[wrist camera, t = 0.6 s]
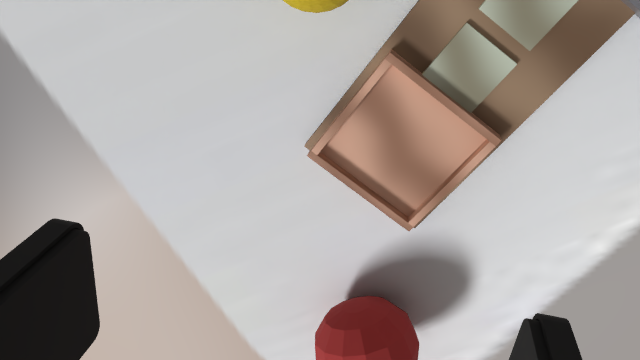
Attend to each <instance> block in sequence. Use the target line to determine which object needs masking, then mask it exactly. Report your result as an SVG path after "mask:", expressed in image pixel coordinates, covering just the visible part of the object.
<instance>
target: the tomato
mask: <svg viewBox="0 0 640 360" xmlns="http://www.w3.org/2000/svg"><path fill="white" fill-rule="evenodd" d="M315 351H316V360H418V351H419V341H418V338H417V335H416V332H415V330H414V327H413V325H412V323H411V321H410V319H409V317H408V314H407V313H406V312H404V311H403V310H401V309H400V308H398V307H397V306H395V305H394V304H392V303H391V302H389V301H387V300H386V299H384V298H382V297H376V296H364V297H356V298H352V299H349V300H346V301H343V302H341V303H339V304H338V305H336V306H334V307H333V308H331V309H330V311H329V312H328V313H327V314H326V315H325V317H324V319H323V321H322V322H321V324H320V326H319V328H318V330H317V331H316V334H315Z"/></svg>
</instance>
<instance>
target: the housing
mask: <svg viewBox="0 0 640 360" xmlns="http://www.w3.org/2000/svg"><path fill="white" fill-rule="evenodd" d="M621 1H622V2H623V3H625V4H626V5H627V6H628V7H629V8H630V9H631V10H633V11H634V12H635V14H636V15H637V16H638V17H639V18H640V0H621Z"/></svg>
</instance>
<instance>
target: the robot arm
mask: <svg viewBox="0 0 640 360" xmlns="http://www.w3.org/2000/svg"><path fill="white" fill-rule="evenodd" d="M93 270H94V269H93V261H92V253H91V245H90V237H89V234H88V232H86V231H84V229H83V227H82V225H81V224H79V223H76V222H71V221H65V220H60V219H52V220H50V221H48V222H47V223H45V224H44V225H43V226H42V227H41V228H39V229H38V230H37V231H35V232H34V233H33V234H32V235H31V236H30V237H28V238H27V239H26V240H24V241H23V242H22V243H21V244H19V245H18V246H17V247H16V248H14V249H13V250H12V251H11V252H9V253H8V254H7V255H6V256H4V257H3V258H2V259H1V260H0V360H79V359H80V358H81V357H82V356H83V354H84V353H85V352H86V351H87V349H88V348H89V347H90V346H91V344H92V343H93V342H94V340H95V339H96V337H97V334H98V331H99V327H100V321H99V313H98V304H97V295H96V287H95V278H94V271H93ZM509 360H582V357H581V355H580V352H579V349H578V346H577V343H576V340H575V337H574V334H573V331H572V328H571V325H570V323H569V321H568V320H567V319H565V318H559V317H555V316H550V315H545V314H539V313H537V314H535V316H534V317H533V319H527V318H526V319H524V320H523V323H522V325H521V328H520V330H519V333H518V336H517V339H516V342H515V344H514V347H513V350H512V353H511V355H510V358H509Z"/></svg>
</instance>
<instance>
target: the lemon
mask: <svg viewBox="0 0 640 360" xmlns="http://www.w3.org/2000/svg"><path fill="white" fill-rule="evenodd" d="M283 1H284V2H286V3H287V4H289V5H290V6H291V7H294V8H296V9H299V10H301V11H305V12H314V13H319V12H325V11H331V10H333V9H335V8H337V7H340V6H342V5H343V4H344V3H346V2H347V1H348V0H283Z"/></svg>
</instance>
